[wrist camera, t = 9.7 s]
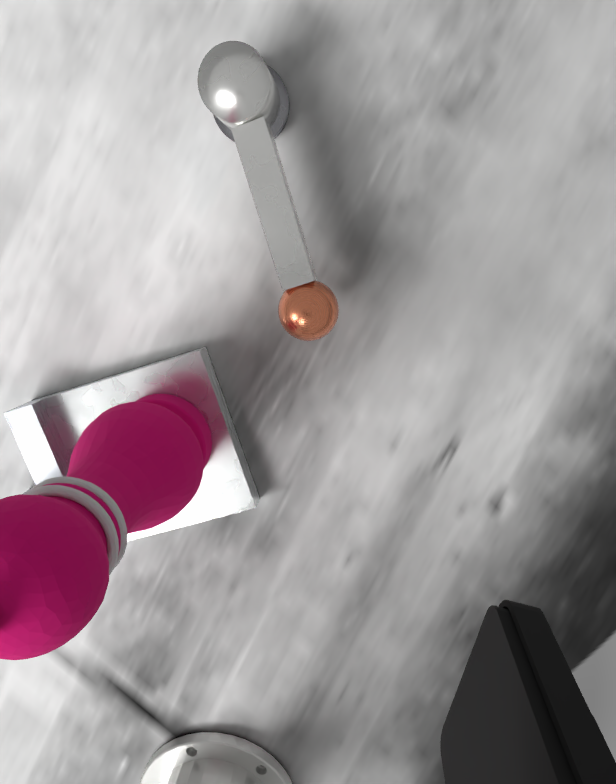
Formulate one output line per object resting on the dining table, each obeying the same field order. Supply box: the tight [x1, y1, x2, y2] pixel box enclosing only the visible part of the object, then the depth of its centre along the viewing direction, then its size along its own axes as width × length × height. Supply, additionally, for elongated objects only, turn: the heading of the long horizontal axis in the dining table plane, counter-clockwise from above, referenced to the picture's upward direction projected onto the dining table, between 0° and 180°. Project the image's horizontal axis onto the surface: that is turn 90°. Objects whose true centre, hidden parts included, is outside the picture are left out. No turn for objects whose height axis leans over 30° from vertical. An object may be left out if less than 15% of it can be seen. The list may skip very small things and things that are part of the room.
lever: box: [198, 41, 339, 341], centre depth 31 cm, size 16×4×4 cm, turn 18°
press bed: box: [4, 65, 289, 541], centre depth 30 cm, size 26×26×13 cm
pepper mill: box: [0, 394, 212, 660], centre depth 27 cm, size 7×7×20 cm
